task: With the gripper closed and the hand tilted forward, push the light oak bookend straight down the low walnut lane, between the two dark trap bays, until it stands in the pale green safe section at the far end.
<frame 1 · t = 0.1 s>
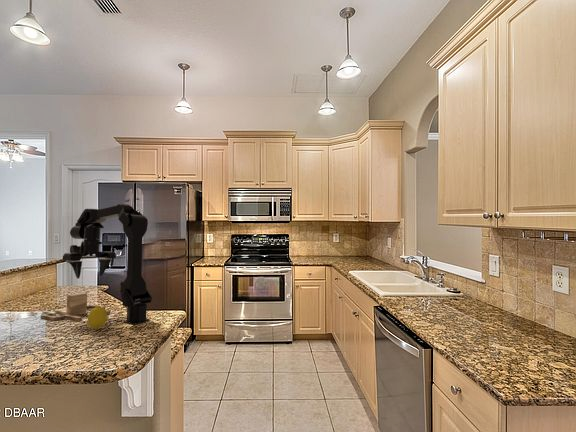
hand: (89, 277, 125), 15 cm above the worktop, tool pointing down, fingers open, 9 cm apart
oak bookend: (70, 313, 123), on the worktop
lemon: (96, 330, 102), on the worktop
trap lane: (77, 314, 122), on the worktop
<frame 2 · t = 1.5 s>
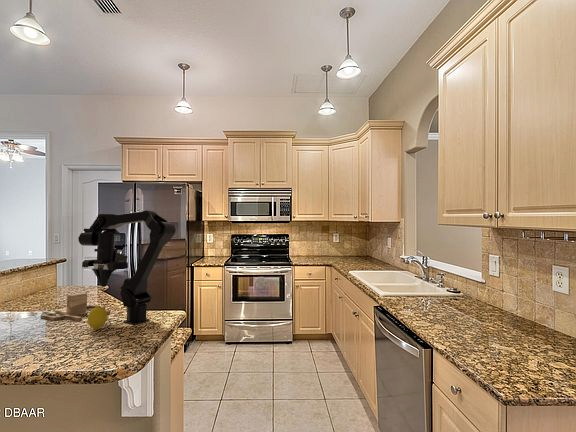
hand: (103, 286, 117), 12 cm above the worktop, tool pointing down, fingers closed
nothing on the worktop moved.
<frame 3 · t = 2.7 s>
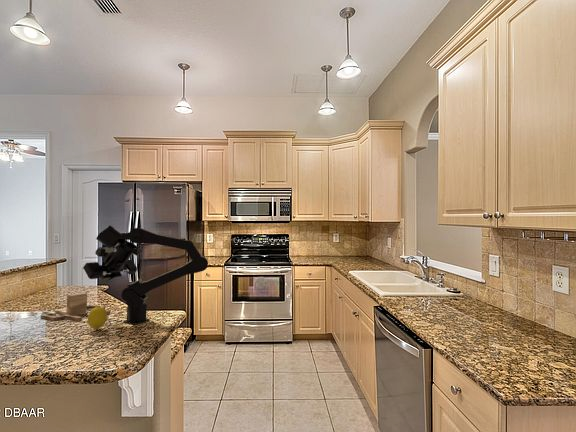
hand: (100, 283, 117), 13 cm above the worktop, tool tilted 45°, fingers closed
nothing on the worktop moved.
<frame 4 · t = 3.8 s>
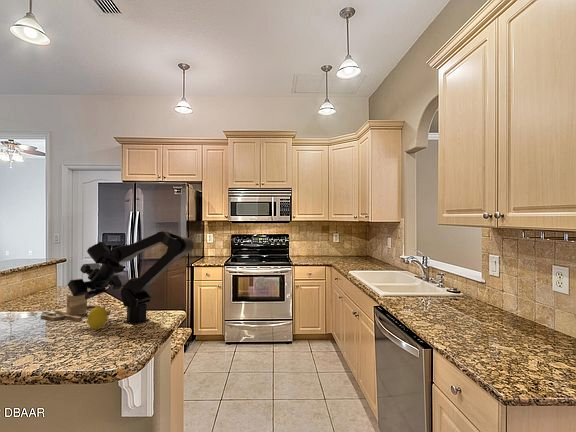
hand: (86, 298, 120), 7 cm above the worktop, tool tilted 45°, fingers closed
nothing on the worktop moved.
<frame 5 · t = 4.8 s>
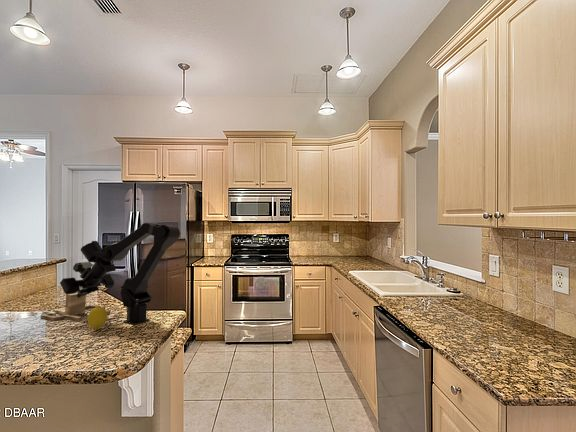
hand: (78, 296, 122), 7 cm above the worktop, tool tilted 45°, fingers closed, pressing on oak bookend
oak bookend: (69, 312, 124), on the worktop, touching gripper
everything else where it was.
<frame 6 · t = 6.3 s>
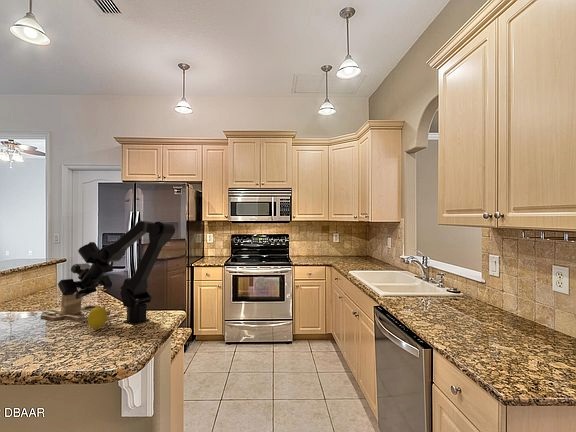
hand: (76, 298, 123), 6 cm above the worktop, tool tilted 45°, fingers closed
oak bookend: (65, 312, 125), on the worktop
everything else where it was.
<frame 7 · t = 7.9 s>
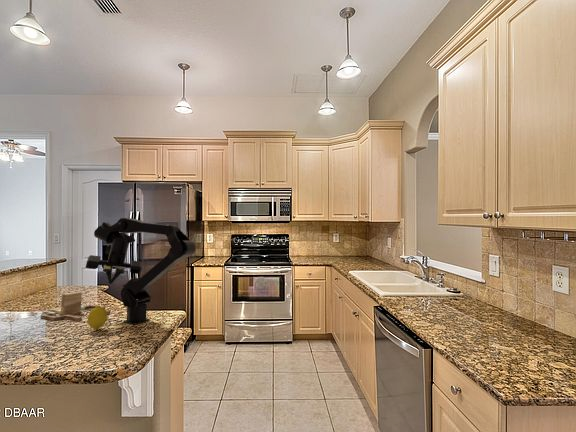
hand: (110, 283, 120), 13 cm above the worktop, tool tilted 25°, fingers closed
nothing on the worktop moved.
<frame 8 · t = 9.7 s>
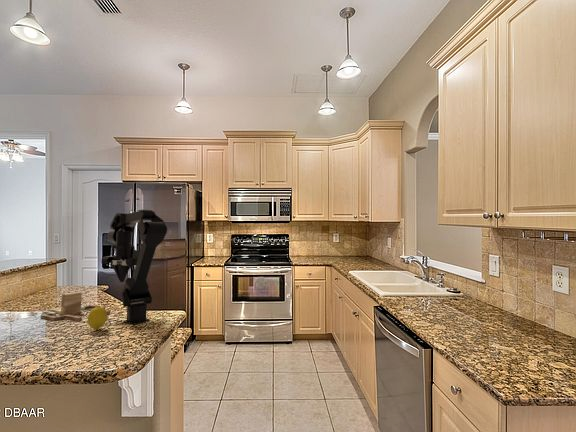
hand: (122, 282, 123), 13 cm above the worktop, tool pointing down, fingers closed
nothing on the worktop moved.
at the end: oak bookend inside the target area (1.6 cm from its centre), on the worktop; oak bookend tilted 0°; oak bookend moved 3.6 cm from its start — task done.
